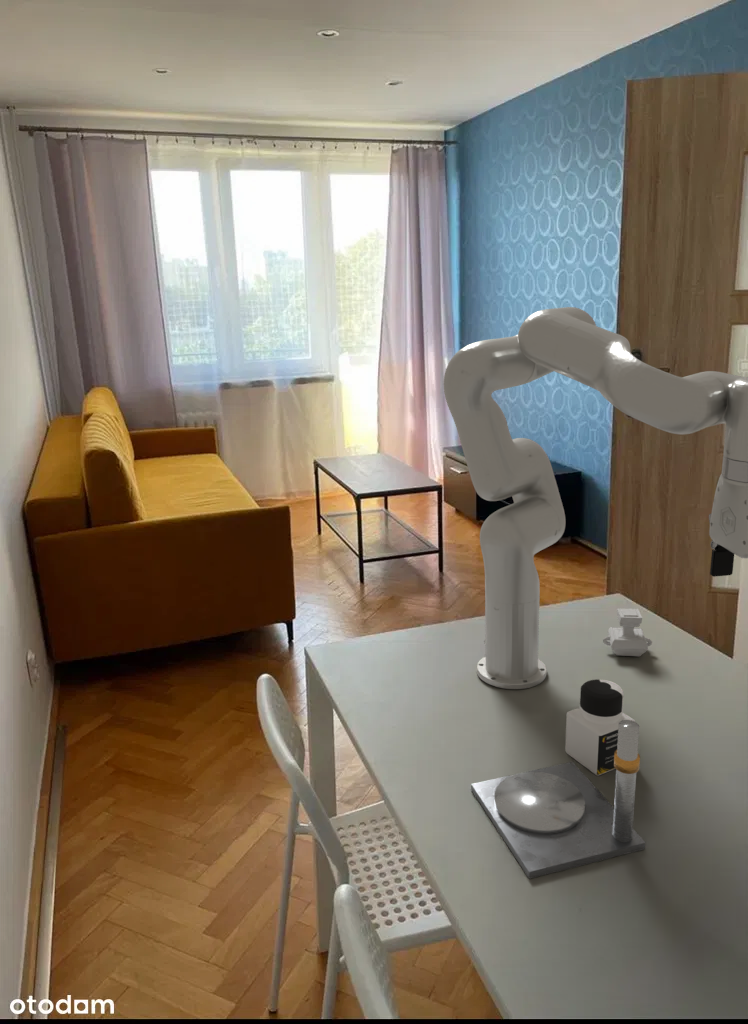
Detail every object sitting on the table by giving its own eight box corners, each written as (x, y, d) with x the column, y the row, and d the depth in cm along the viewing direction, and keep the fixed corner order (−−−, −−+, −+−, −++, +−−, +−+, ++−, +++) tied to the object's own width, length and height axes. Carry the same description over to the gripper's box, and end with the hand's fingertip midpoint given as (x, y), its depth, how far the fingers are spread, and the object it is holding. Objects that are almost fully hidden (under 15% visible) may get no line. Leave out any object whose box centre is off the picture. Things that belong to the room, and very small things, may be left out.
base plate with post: (471, 789, 110) (470, 682, 106) (572, 767, 114) (576, 663, 110) (528, 878, 94) (531, 756, 89) (644, 849, 98) (653, 730, 93)
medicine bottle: (597, 777, 112) (601, 703, 109) (564, 752, 118) (566, 682, 115) (634, 762, 115) (638, 690, 112) (599, 738, 121) (603, 669, 118)
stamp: (648, 645, 151) (651, 605, 148) (654, 661, 144) (657, 620, 142) (600, 643, 152) (602, 603, 150) (604, 659, 146) (606, 618, 144)
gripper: (693, 457, 113) (684, 568, 118) (764, 488, 96) (749, 615, 101) (742, 454, 113) (731, 564, 118) (820, 484, 97) (803, 610, 102)
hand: (739, 587), depth 110 cm, fingers open, 9 cm apart
